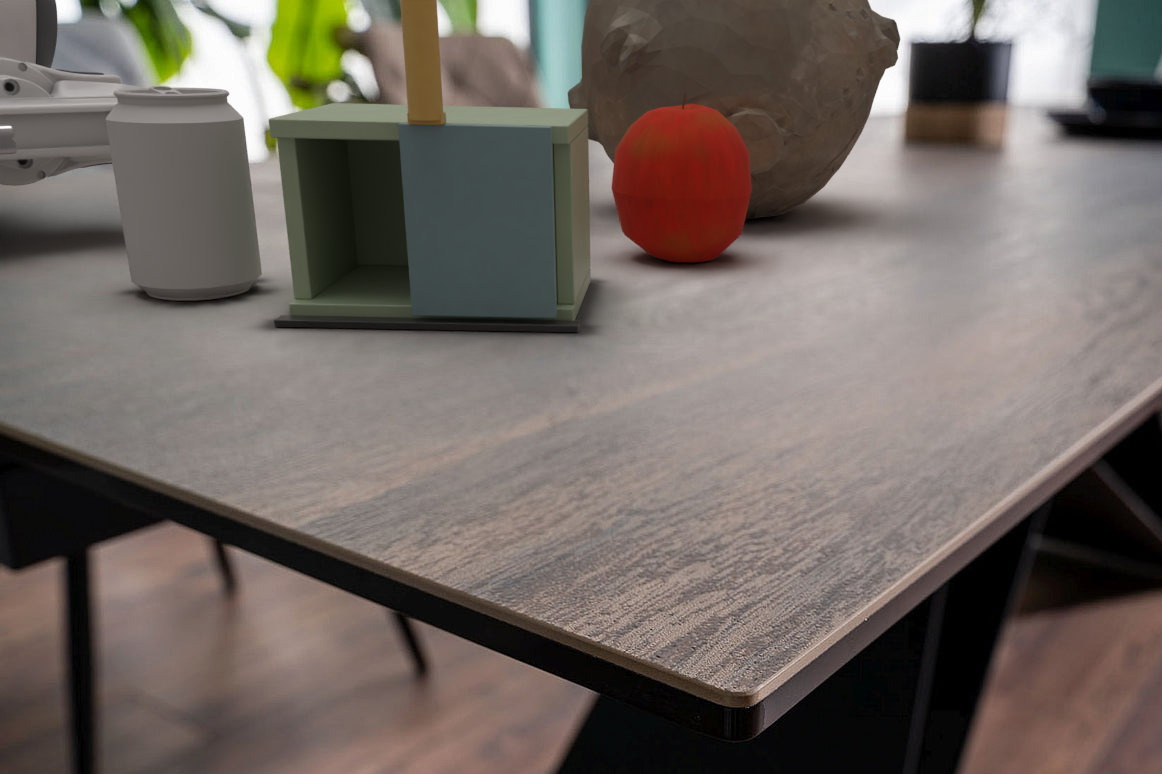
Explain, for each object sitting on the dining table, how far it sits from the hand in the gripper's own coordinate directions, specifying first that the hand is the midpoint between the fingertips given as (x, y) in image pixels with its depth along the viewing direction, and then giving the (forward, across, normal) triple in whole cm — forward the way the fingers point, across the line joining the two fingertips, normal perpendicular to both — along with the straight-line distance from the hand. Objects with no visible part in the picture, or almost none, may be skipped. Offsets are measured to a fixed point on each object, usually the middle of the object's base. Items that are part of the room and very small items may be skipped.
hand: (81, 136), depth 77 cm
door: (+32, +7, +8) cm, 33 cm away
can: (+12, +1, +8) cm, 15 cm away
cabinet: (+24, +11, +8) cm, 28 cm away
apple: (+25, +31, +8) cm, 41 cm away
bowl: (+13, +50, +8) cm, 52 cm away
